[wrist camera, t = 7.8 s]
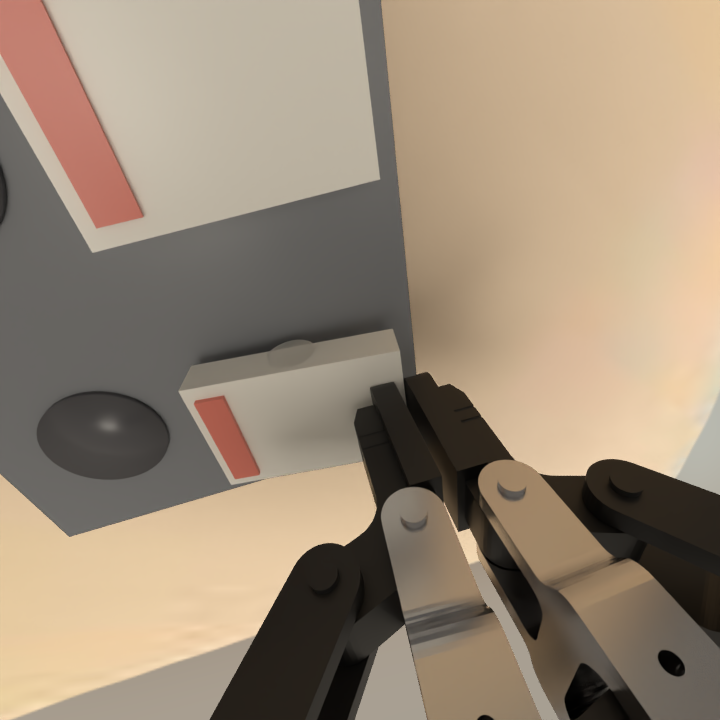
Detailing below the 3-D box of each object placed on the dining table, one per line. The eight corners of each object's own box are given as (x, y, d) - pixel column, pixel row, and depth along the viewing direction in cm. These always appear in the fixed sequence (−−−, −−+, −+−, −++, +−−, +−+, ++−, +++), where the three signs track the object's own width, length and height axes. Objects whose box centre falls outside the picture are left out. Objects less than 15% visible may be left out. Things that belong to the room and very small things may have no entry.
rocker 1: (105, 235, 8) (90, 255, 7) (-31, -15, 6) (-94, -61, 5) (353, 174, 10) (383, 179, 8) (319, -46, 7) (351, -89, 6)
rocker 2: (239, 448, 14) (230, 488, 12) (195, 358, 11) (176, 394, 10) (403, 418, 13) (413, 456, 12) (390, 321, 11) (400, 353, 10)
